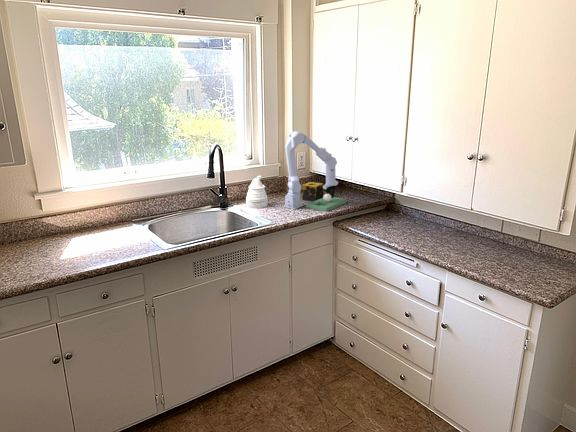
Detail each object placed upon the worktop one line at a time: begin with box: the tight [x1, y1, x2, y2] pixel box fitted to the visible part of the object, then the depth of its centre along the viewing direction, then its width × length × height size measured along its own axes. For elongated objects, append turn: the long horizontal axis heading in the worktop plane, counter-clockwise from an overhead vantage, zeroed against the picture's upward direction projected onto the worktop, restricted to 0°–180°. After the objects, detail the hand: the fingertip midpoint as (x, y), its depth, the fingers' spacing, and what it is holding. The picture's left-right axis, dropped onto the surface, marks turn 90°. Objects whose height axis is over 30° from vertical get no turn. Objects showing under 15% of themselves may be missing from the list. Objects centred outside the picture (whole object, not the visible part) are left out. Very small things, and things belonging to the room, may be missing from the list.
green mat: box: [305, 196, 348, 212], centre depth 258 cm, size 24×14×2 cm, turn 143°
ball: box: [323, 193, 331, 202], centre depth 257 cm, size 5×5×5 cm
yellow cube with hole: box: [301, 181, 324, 202], centre depth 270 cm, size 10×10×10 cm
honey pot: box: [245, 175, 268, 209], centre depth 256 cm, size 13×13×18 cm
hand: (330, 198), depth 260 cm, fingers closed
